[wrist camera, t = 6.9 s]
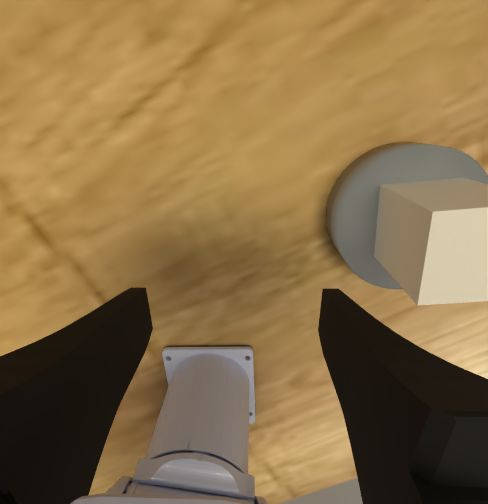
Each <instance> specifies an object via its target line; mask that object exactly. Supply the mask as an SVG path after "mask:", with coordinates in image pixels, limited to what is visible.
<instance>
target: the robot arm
mask: <svg viewBox="0 0 488 504" xmlns="http://www.w3.org/2000/svg"><path fill="white" fill-rule="evenodd" d="M152 329H153V327H152V321H151V315H150V309H149V303H148V298H147V292H146V288H130V289H128V290H126V291H124V292H123V293H121V294H119V295H118V296H116V297H114V298H113V299H111V300H110V301H108V302H107V303H105V304H103V305H102V306H100V307H99V308H97V309H95V310H94V311H92V312H91V313H89V314H87V315H85V316H84V317H82V318H80V319H78V320H77V321H75V322H73V323H72V324H70V325H68V326H66V327H64V328H63V329H61V330H59V331H57V332H55V333H53V334H51V335H49V336H47V337H45V338H43V339H41V340H38V341H36V342H34V343H32V344H29V345H27V346H25V347H22V348H20V349H17V350H15V351H13V352H10V353H8V354H5V355H3V356H0V504H267V502H266V500H265V499H264V498H263V497H258V496H255V478H254V476H251V475H248V453H249V424H253V423H254V422H255V393H254V360H253V349H252V348H251V347H166V348H164V349H163V352H162V356H163V361H164V366H165V372H166V377H167V382H168V389H167V392H166V395H165V398H164V401H163V404H162V408H161V411H160V414H159V417H158V420H157V423H156V426H155V429H154V432H153V435H152V438H151V441H150V445H149V448H148V451H147V454H146V457H145V459H139V462H138V465H137V468H136V471H135V473H134V476H133V478H132V477H127V476H123V477H121V478H120V479H119V480H118V482H117V483H115V484H114V485H113V486H112V487H110V488H109V490H108V491H107V492H106V493H103V494H96V495H89V496H88V494H89V491H90V488H91V485H92V482H93V478H94V475H95V472H96V469H97V466H98V463H99V460H100V457H101V454H102V451H103V448H104V445H105V442H106V439H107V436H108V434H109V431H110V428H111V426H112V423H113V420H114V417H115V415H116V412H117V410H118V407H119V405H120V403H121V400H122V398H123V396H124V394H125V392H126V390H127V388H128V386H129V384H130V382H131V380H132V378H133V376H134V374H135V372H136V370H137V368H138V366H139V363H140V361H141V359H142V357H143V355H144V353H145V351H146V348H147V345H148V342H149V339H150V336H151V333H152ZM318 331H319V337H320V342H321V347H322V351H323V355H324V358H325V361H326V364H327V367H328V370H329V372H330V375H331V378H332V381H333V384H334V387H335V390H336V393H337V396H338V398H339V401H340V404H341V408H342V411H343V414H344V418H345V423H346V427H347V431H348V435H349V440H350V444H351V448H352V453H353V458H354V462H355V467H356V471H357V476H358V481H359V486H360V491H361V496H362V501H363V504H488V379H486V378H484V377H481V376H479V375H476V374H474V373H472V372H469V371H467V370H464V369H462V368H460V367H458V366H456V365H453V364H451V363H449V362H447V361H445V360H443V359H441V358H439V357H437V356H435V355H433V354H431V353H429V352H427V351H426V350H424V349H422V348H420V347H418V346H417V345H415V344H413V343H412V342H410V341H408V340H407V339H405V338H403V337H402V336H400V335H398V334H397V333H395V332H394V331H392V330H391V329H390V328H388V327H387V326H385V325H384V324H382V323H381V322H380V321H378V320H377V319H375V318H374V317H373V316H372V315H370V314H369V313H368V312H366V311H365V310H364V309H363V308H361V307H360V306H359V305H358V304H356V303H355V302H354V301H353V300H352V299H350V298H349V297H348V296H347V295H346V294H344V293H343V292H342V291H340V290H339V289H323V292H322V301H321V310H320V319H319V328H318ZM167 356H169V357H171V358H169V357H167ZM246 356H249V357H246Z"/></svg>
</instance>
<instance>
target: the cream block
mask: <svg viewBox="0 0 488 504" xmlns="http://www.w3.org/2000/svg"><path fill="white" fill-rule="evenodd" d="M374 257H375V258H376V259H377V260H378V261H379V262H380V263H381V265H382V266H383V267H384V268H385V269H386V270H387V271H388V273H389V274H390V275H391V276H392V277H393V278H394V279H395V280H396V282H397V283H398V284H399V285H400V286H401V287H402V288H403V289H404V291H405V292H406V293H407V294H408V295H409V296H410V297H411V299H412V300H413V301H414V302H415V303H416V304H417V305H432V304H448V303H464V302H480V301H488V184H485V183H481V182H477V181H474V180H470V179H466V178H463V177H462V178H451V179H439V180H428V181H417V182H406V183H395V184H384V185H380V192H379V204H378V215H377V227H376V239H375V250H374Z"/></svg>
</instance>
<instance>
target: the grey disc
mask: <svg viewBox="0 0 488 504" xmlns="http://www.w3.org/2000/svg"><path fill="white" fill-rule="evenodd" d="M462 177H463V178H466V179H470V180H474V181H477V182H481V183H485V184H488V175H487V174H486V172H485V170H484V169H483V168H482V167H481V165H480V164H479V163H478V162H477V161H476V160H474V159H473V158H472V157H471V156H469V155H467V154H465V153H463V152H462V151H459V150H456V149H453V148H450V147H444V146H437V145H430V144H422V143H414V142H396V143H390V144H386V145H382V146H379V147H377V148H374V149H372V150H370V151H368V152H366V153H365V154H363V155H362V156H360V157H359V158H357V159H356V160H355V161H354V162H352V163H351V164H350V165H349V166H348V167H347V168H346V169H345V170H344V171H343V173H342V174H341V175H340V177H339V178H338V179H337V181H336V183H335V185H334V186H333V188H332V191H331V193H330V195H329V199H328V202H327V208H326V224H327V229H328V233H329V236H330V238H331V240H332V242H333V243H334V245H335V247H336V248H337V250H338V251H339V253H340V254H341V256H342V257H343V259H344V260H345V262H346V263H347V265H348V267H349V268H350V269H351V270H352V271H353V272H354V273H355V274H356V275H357V276H359V277H360V278H361V279H363V280H365V281H366V282H368V283H371V284H373V285H375V286H379V287H382V288H388V289H403V288H402V287H401V286H400V285H399V284H398V283H397V282H396V280H395V279H394V278H393V277H392V276H391V275H390V274H389V273H388V271H387V270H386V269H385V268H384V267H383V266H382V265H381V263H380V262H379V261H378V260H377V259H376V258H375V257H374V250H375V239H376V227H377V215H378V204H379V192H380V185H384V184H395V183H406V182H417V181H428V180H439V179H451V178H462Z"/></svg>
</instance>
